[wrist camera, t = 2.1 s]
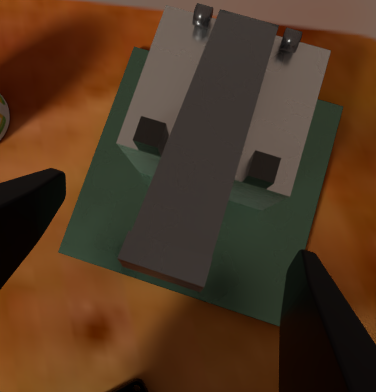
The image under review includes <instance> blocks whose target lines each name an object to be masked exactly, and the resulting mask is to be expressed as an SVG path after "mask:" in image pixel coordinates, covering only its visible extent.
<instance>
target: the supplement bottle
mask: <svg viewBox="0 0 376 392" xmlns="http://www.w3.org/2000/svg"><path fill="white" fill-rule="evenodd" d="M9 121H10V114H9V108H8V105H7V103H6V101H5V99H4V98H3V97H2V95H1V94H0V140H1V139H2V137H3V136H4V134H5V133H6V131H7V128H8V125H9Z"/></svg>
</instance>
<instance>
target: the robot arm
mask: <svg viewBox="0 0 376 392" xmlns="http://www.w3.org/2000/svg"><path fill="white" fill-rule="evenodd" d="M65 196H66V178H65V173H64V172H62V171H60V170H57V169H53V168H49V169H45V170H42V171H39V172H35V173H32V174H29V175H25V176H22V177H19V178H15V179H12V180H9V181H5V182H2V183H0V289H1V288H2V287H3V285H4V284H5V283H6V282H7V280H8V279H9V278H10V277H11V275H12V274H13V273H14V272H15V270H16V269H17V268H18V267H19V265H20V264H21V263H22V261H23V260H24V259H25V258H26V256H27V255H28V254H29V253H30V251H31V250H32V249H33V248H34V246H35V245H36V244H37V242H38V241H39V240H40V238H41V237H42V235H43V234H44V232H45V230H46V229H47V227H48V226H49V224H50V222H51V221H52V219H53V217H54V216H55V214H56V213H57V211H58V209H59V208H60V206H61V205H62V203H63V201H64V199H65ZM135 385H138V386H139V387H140V390H139V391H136V390H135V389H134V386H135ZM112 392H148V390H147V388H146V386H145V384H144V382H143V381H142V380H141V379H134V380H132V381H130V382H129V383H127V384H125V385H123V386H121V387H119V388H117V389H116V390H114V391H112ZM279 392H376V344H375V343H374V341H373V340H372V338H371V337H370V335H369V334H368V332H367V331H366V329H365V328H364V326H363V325H362V323H361V322H360V320H359V319H358V317H357V316H356V314H355V313H354V311H353V310H352V308H351V307H350V305H349V303H348V302H347V300H346V299H345V297H344V296H343V294H342V293H341V291H340V290H339V288H338V287H337V285H336V284H335V282H334V281H333V279H332V278H331V276H330V275H329V273H328V272H327V270H326V269H325V267H324V266H323V264H322V263H321V261H320V260H319V258H318V257H317V255H316V254H315V253H313V252H310V251H307V250H304V249H301V250H299V251H298V253H297V254H296V256H295V257H294V259H293V261H292V262H291V264H290V266H289V267H288V270H287V273H286V280H285V287H284V295H283V302H282V309H281V317H280V339H279Z"/></svg>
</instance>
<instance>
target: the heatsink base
mask: <svg viewBox="0 0 376 392" xmlns="http://www.w3.org/2000/svg"><path fill="white" fill-rule="evenodd" d="M212 15H213V7H209V6H206V5H202V4H199V3H197V5H196V7H195V10H194V13H193V12H189V11H186V10H182V9H178V8H175V7H171V6H168V5H166V7H165V9H164V12H163V15H162V18H161V20H160V23H159V26H158V29H157V32H156V34H155V37H154V40H153V43H152V45H151V48H150V51H148V50H144V49H141V48H137V47H134V48H133V51H132V54H131V56H130V59H129V62H128V65H127V67H126V70H125V73H124V75H123V78H122V81H121V83H120V86H119V89H118V92H117V94H116V97H115V100H114V102H113V105H112V108H111V111H110V113H109V116H108V119H107V121H106V124H105V127H104V129H103V132H102V135H101V138H100V140H99V143H98V146H97V148H96V151H95V154H94V157H93V159H92V162H91V165H90V167H89V170H88V173H87V175H86V178H85V181H84V184H83V186H82V189H81V192H80V194H79V197H78V200H77V203H76V205H75V208H74V211H73V213H72V216H71V219H70V222H69V224H68V227H67V230H66V232H65V235H64V238H63V240H62V243H61V246H60V249H59V251H58V252H59V253H62V254H65V255H68V256H71V257H74V258H77V259H80V260H83V261H86V262H89V263H92V264H95V265H98V266H101V267H104V268H107V269H110V270H113V271H116V272H119V273H122V274H125V275H128V276H131V277H134V278H137V279H140V280H142V281H145V282H148V283H151V284H154V285H157V286H160V287H163V288H166V289H169V290H172V291H175V292H178V293H181V294H184V295H187V296H190V297H193V298H196V299H199V300H202V301H205V302H208V303H211V304H214V305H217V306H220V307H223V308H226V309H229V310H232V311H235V312H238V313H241V314H244V315H247V316H250V317H253V318H256V319H259V320H262V321H265V322H268V323H271V324H274V325H277V326H280V317H281V309H282V302H283V295H284V287H285V280H286V273H287V270H288V267H289V266H290V264H291V262H292V261H293V259H294V257H295V256H296V254H297V253H298V251H299V250H301V249H304V250H305V248H306V244H307V240H308V236H309V233H310V229H311V225H312V221H313V218H314V214H315V210H316V207H317V203H318V199H319V195H320V192H321V188H322V184H323V180H324V177H325V173H326V169H327V166H328V162H329V158H330V154H331V151H332V147H333V143H334V139H335V136H336V132H337V128H338V124H339V121H340V117H341V113H342V110H343V106H340V105H336V104H333V103H329V102H326V101H322V100H319V99H318V95H319V92H320V88H321V85H322V81H323V78H324V74H325V70H326V67H327V63H328V60H329V56H330V53H331V50H327V49H323V48H320V47H316V46H312V45H309V44H305V43H302V42H300V39H301V36H302V32H301V31H297V30H294V29H290V28H286V29H285V32H284V35H283V37H280V36H276V37H275V40H274V44H273V47H272V51H271V54H270V58H269V61H268V65H267V68H266V72H265V75H264V78H263V82H262V85H261V89H260V92H259V96H258V99H257V103H256V106H255V110H254V113H253V117H252V120H251V124H250V127H249V131H248V134H247V137H246V141H245V144H244V148H243V151H242V155H241V158H240V162H239V165H238V169H237V172H236V176H235V179H234V183H233V186H232V190H231V193H230V196H229V200H228V203H227V207H226V210H225V214H224V217H223V221H222V224H221V228H220V231H219V235H218V238H217V242H216V245H215V249H214V252H213V255H212V258H213V259H212V262H211V266H210V269H209V273H208V276H207V280H206V283H205V287H204V288H203V290H202V291H201V292H197V291H194V290H191V289H188V288H185V287H182V286H179V285H176V284H173V283H170V282H167V281H164V280H161V279H158V278H155V277H152V276H149V275H146V274H143V273H140V272H137V271H134V270H131V269H128V268H125V267H123V266H122V265H121V263H120V262H119V260H118V259H117V257H118V255H119V253H120V250H121V248H122V245H123V243H124V240H125V238H126V235H127V233H128V231H132V228H133V226H134V223H135V221H136V218H137V216H138V213H139V211H140V208H141V206H142V203H143V201H144V198H145V196H146V193H147V191H148V188H149V186H150V183H151V181H152V178H153V176H154V173H155V171H156V168H157V166H158V163H159V161H160V158H161V156H162V153H163V151H164V148H165V146H166V143H167V141H168V138H169V136H170V133H171V131H172V128H173V126H174V123H175V121H176V118H177V116H178V113H179V111H180V108H181V106H182V103H183V101H184V98H185V96H186V93H187V91H188V88H189V86H190V83H191V81H192V78H193V76H194V73H195V71H196V68H197V66H198V63H199V61H200V58H201V56H202V53H203V51H204V49H205V46H206V44H207V41H208V39H209V36H210V34H211V31H212V29H213V26H214V24H215V21H216V19H215V18H212Z"/></svg>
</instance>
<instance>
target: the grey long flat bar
mask: <svg viewBox="0 0 376 392" xmlns="http://www.w3.org/2000/svg"><path fill="white" fill-rule="evenodd" d="M278 26H279V25H276V24H272V23H268V22H265V21H261V20H257V19H253V18H250V17H247V16H243V15H239V14H235V13H232V12H228V11H225V10H220V11H219V14H218V16H217V19H216V21H215V24H214V26H213V29H212V31H211V34H210V36H209V39H208V41H207V44H206V46H205V49H204V51H203V53H202V56H201V58H200V61H199V63H198V66H197V68H196V71H195V73H194V76H193V78H192V81H191V83H190V86H189V88H188V91H187V93H186V96H185V98H184V101H183V103H182V106H181V108H180V111H179V113H178V116H177V118H176V121H175V123H174V126H173V128H172V131H171V133H170V136H169V138H168V141H167V143H166V146H165V148H164V151H163V153H162V156H161V158H160V161H159V163H158V166H157V168H156V171H155V173H154V176H153V178H152V181H151V183H150V186H149V188H148V191H147V193H146V196H145V198H144V201H143V203H142V206H141V208H140V211H139V213H138V216H137V218H136V221H135V223H134V226H133V228H132V231H128V233H127V235H126V238H125V240H124V243H123V245H122V248H121V250H120V253H119V255H118V257H117V259H118V260H119V262H120V263H121V265H122V266H123V267H125V268H128V269H131V270H134V271H137V272H140V273H143V274H146V275H149V276H152V277H155V278H158V279H161V280H164V281H167V282H170V283H173V284H176V285H179V286H182V287H185V288H188V289H191V290H194V291H197V292H201V291H202V290H203V288H204V287H205V283H206V280H207V276H208V273H209V269H210V266H211V262H212V259H213V258H212V255H213V252H214V249H215V245H216V242H217V238H218V235H219V231H220V228H221V224H222V221H223V217H224V214H225V210H226V207H227V203H228V200H229V196H230V193H231V190H232V186H233V183H234V179H235V176H236V172H237V169H238V165H239V162H240V158H241V155H242V151H243V148H244V144H245V141H246V137H247V134H248V131H249V127H250V124H251V120H252V117H253V113H254V110H255V106H256V103H257V99H258V96H259V92H260V89H261V85H262V82H263V78H264V75H265V72H266V68H267V65H268V61H269V58H270V54H271V51H272V47H273V44H274V40H275V37H276V33H277V30H278Z"/></svg>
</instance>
